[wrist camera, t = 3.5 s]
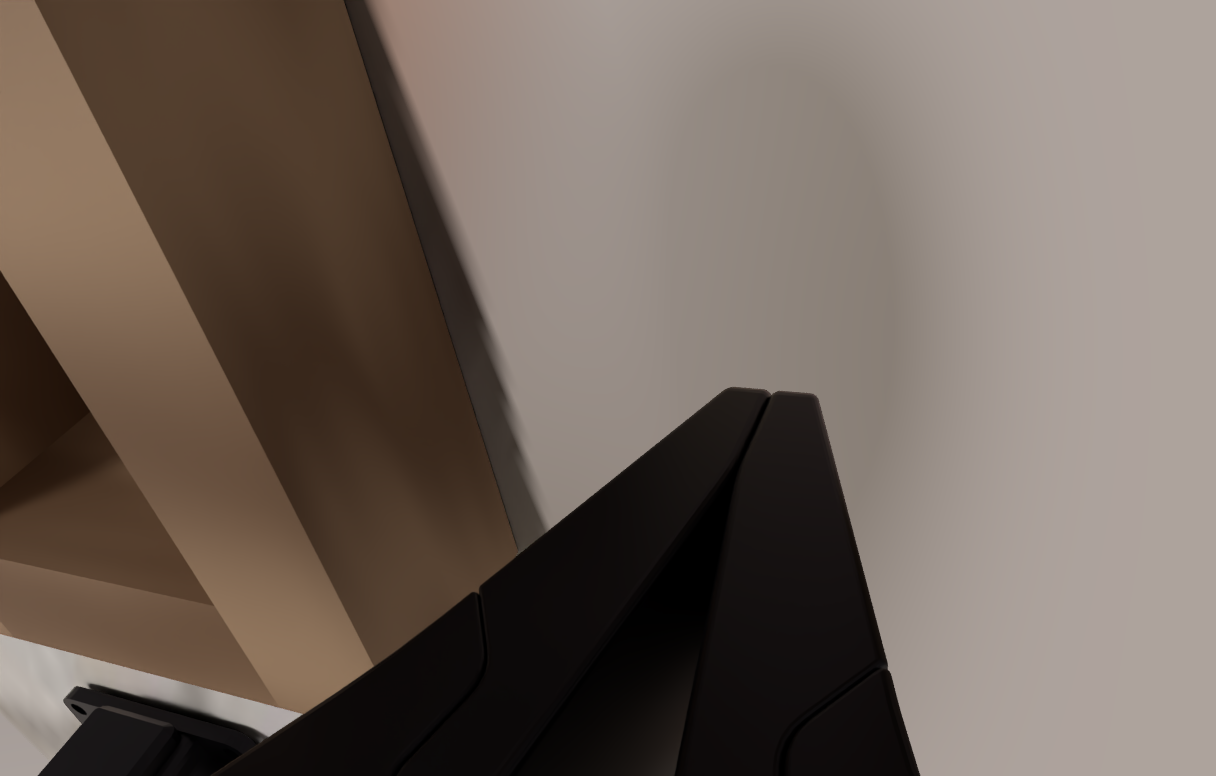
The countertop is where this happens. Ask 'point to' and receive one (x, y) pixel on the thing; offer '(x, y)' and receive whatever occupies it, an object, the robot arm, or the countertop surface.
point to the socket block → (222, 354)
